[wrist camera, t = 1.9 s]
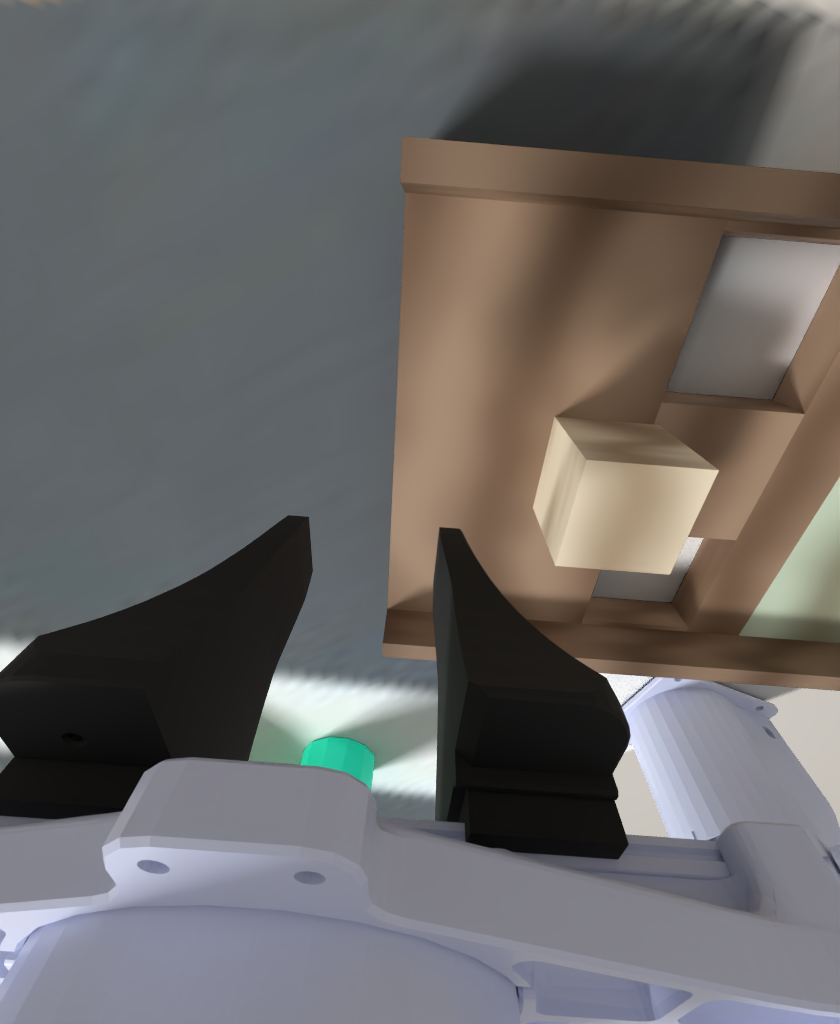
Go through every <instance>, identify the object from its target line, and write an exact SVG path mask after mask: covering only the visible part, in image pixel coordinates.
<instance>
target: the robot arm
mask: <svg viewBox="0 0 840 1024" xmlns="http://www.w3.org/2000/svg"><path fill="white" fill-rule="evenodd" d="M312 572H313V568H312V554H311V541H310V527H309V517H303V516H290V515H288V516H287V517H285V518H284V519H283V520H281V521H280V522H278V523H277V524H276V525H274V526H273V527H272V528H270V529H269V530H268V531H266V532H265V533H264V534H262V535H261V536H260V537H258V538H257V539H256V540H254V541H253V542H251V543H250V544H249V545H247V546H246V547H244V548H243V549H242V550H240V551H238V552H237V553H235V554H234V555H232V556H231V557H229V558H228V559H226V560H225V561H223V562H222V563H220V564H218V565H217V566H215V567H214V568H212V569H210V570H208V571H207V572H205V573H203V574H201V575H200V576H198V577H196V578H194V579H192V580H190V581H188V582H186V583H184V584H182V585H180V586H178V587H176V588H174V589H172V590H169V591H167V592H165V593H163V594H160V595H158V596H156V597H154V598H151V599H149V600H147V601H145V602H142V603H140V604H137V605H134V606H132V607H129V608H127V609H124V610H121V611H118V612H116V613H113V614H110V615H107V616H104V617H101V618H98V619H95V620H92V621H89V622H86V623H82V624H79V625H75V626H72V627H69V628H65V629H62V630H58V631H55V632H51V633H48V634H44V635H40V636H38V637H37V638H36V639H35V640H34V641H33V642H31V643H30V644H29V645H28V646H27V647H26V648H25V649H24V650H23V651H22V652H21V653H20V654H19V655H18V656H17V657H16V658H15V659H14V660H13V661H12V662H11V663H10V664H8V665H7V666H6V667H5V668H4V669H3V670H2V671H1V672H0V737H1V739H2V740H3V741H4V743H5V744H6V745H7V747H8V748H9V749H10V751H11V752H12V754H13V755H14V756H15V757H14V758H13V759H12V760H11V762H10V763H9V764H8V765H7V766H6V767H5V769H4V770H3V771H2V772H1V773H0V1024H840V828H839V824H838V821H837V818H836V816H835V813H834V811H833V809H832V807H831V806H830V804H829V802H828V801H827V800H826V798H825V797H824V795H823V794H822V793H821V791H820V790H819V788H818V787H817V786H816V784H815V783H814V781H813V780H812V778H811V777H810V776H809V774H808V773H807V772H806V770H805V769H804V767H803V766H802V765H801V763H800V762H799V761H798V759H797V758H796V756H795V755H794V753H793V752H792V751H791V749H790V748H789V746H788V745H787V744H786V742H785V741H784V740H783V738H782V737H781V735H780V734H779V733H778V731H777V730H776V728H775V727H774V726H773V724H772V723H771V721H770V720H769V719H770V718H771V717H772V716H774V715H775V714H776V713H777V712H778V709H777V708H776V706H775V705H774V704H771V703H769V702H766V701H763V700H761V699H758V698H755V697H752V696H750V695H747V694H744V693H742V692H739V691H736V690H734V689H731V688H728V687H726V686H723V685H720V684H718V683H715V682H712V681H703V680H690V679H676V678H663V677H655V678H654V679H653V680H652V681H651V682H650V683H649V684H647V685H646V686H645V687H644V688H643V689H642V690H641V691H639V692H638V693H637V694H636V695H635V696H634V697H633V698H632V699H630V700H629V701H628V702H627V703H626V704H625V705H624V706H623V707H621V705H620V703H619V701H618V699H617V697H616V695H615V693H614V691H613V690H612V688H611V686H610V684H609V682H608V680H607V678H605V677H604V676H602V675H601V674H599V673H598V672H596V671H594V670H593V669H591V668H590V667H588V666H586V665H585V664H583V663H582V662H580V661H579V660H577V659H575V658H574V657H572V656H571V655H570V654H568V653H567V652H565V651H564V650H563V649H561V648H560V647H559V646H557V645H556V644H555V643H553V642H552V641H551V640H549V639H548V638H547V637H546V636H545V635H543V634H542V633H541V632H540V631H539V630H537V629H536V628H535V627H534V626H533V625H532V624H531V623H530V622H528V621H527V620H526V619H525V618H524V617H523V616H522V615H521V614H520V613H519V612H518V611H517V610H516V609H515V608H514V607H513V606H512V605H511V604H510V602H509V601H508V600H507V599H506V598H505V597H504V595H503V594H502V593H501V592H500V591H499V589H498V588H497V587H496V585H495V584H494V583H493V582H492V580H491V579H490V577H489V576H488V575H487V573H486V572H485V570H484V569H483V567H482V566H481V564H480V563H479V561H478V559H477V558H476V556H475V555H474V553H473V551H472V549H471V548H470V546H469V544H468V542H467V540H466V538H465V536H464V534H463V532H462V531H461V530H460V529H458V528H445V527H439V535H438V544H437V553H436V562H435V571H434V580H433V607H432V610H433V623H434V635H435V647H436V659H437V671H438V733H437V775H436V810H435V821H430V820H416V819H402V818H388V817H376V806H377V803H376V801H375V799H374V797H373V795H372V793H371V791H370V789H369V787H368V786H367V785H366V784H365V783H363V782H362V781H360V780H359V779H357V778H355V777H354V776H352V775H350V774H349V773H347V772H344V771H339V770H334V769H330V768H325V767H321V766H308V765H294V764H280V763H266V762H252V761H248V759H249V755H250V752H251V748H252V744H253V741H254V737H255V734H256V730H257V727H258V723H259V720H260V716H261V713H262V709H263V706H264V703H265V700H266V696H267V693H268V690H269V687H270V684H271V680H272V677H273V674H274V672H275V669H276V666H277V664H278V661H279V659H280V656H281V654H282V652H283V649H284V647H285V645H286V643H287V640H288V638H289V636H290V633H291V631H292V629H293V626H294V624H295V622H296V619H297V617H298V615H299V612H300V610H301V608H302V605H303V603H304V600H305V597H306V594H307V590H308V587H309V583H310V579H311V576H312ZM628 744H629V745H633V748H634V750H635V753H636V755H637V758H638V760H639V763H640V765H641V768H642V770H643V773H644V775H645V778H646V780H647V783H648V785H649V788H650V790H651V793H652V795H653V798H654V800H655V803H656V805H657V808H658V810H659V813H660V815H661V818H662V820H663V823H664V825H665V828H666V830H667V833H668V835H669V838H667V837H653V836H639V835H626V834H625V831H624V828H623V825H622V822H621V819H620V816H619V813H618V810H617V807H616V804H615V800H616V799H617V798H618V789H617V786H616V783H615V780H614V778H613V772H614V770H615V768H616V766H617V765H618V763H619V761H620V759H621V757H622V756H623V754H624V752H625V750H626V748H627V747H628Z"/></svg>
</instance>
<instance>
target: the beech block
mask: <svg viewBox="0 0 840 1024" xmlns="http://www.w3.org/2000/svg"><path fill="white" fill-rule="evenodd" d="M718 472H719V470H718V469H717V468H715V467H714V466H713V465H711V464H710V463H709V462H708V461H706V460H705V459H704V458H702V457H701V456H700V455H698V454H697V453H696V452H694V451H693V450H692V449H690V448H689V447H688V446H686V445H685V444H684V443H683V442H681V441H680V440H679V439H677V438H676V437H675V436H673V435H672V434H671V433H669V432H668V431H667V430H665V429H664V428H663V427H662V426H660V425H653V424H640V423H628V422H615V421H603V420H590V419H578V418H565V417H554V421H553V426H552V430H551V434H550V438H549V442H548V446H547V451H546V455H545V459H544V463H543V467H542V472H541V476H540V480H539V484H538V488H537V493H536V497H535V501H534V505H533V509H534V512H535V515H536V517H537V520H538V522H539V525H540V528H541V530H542V533H543V535H544V538H545V541H546V543H547V546H548V548H549V551H550V554H551V556H552V559H553V562H554V564H555V566H563V567H576V568H589V569H602V570H615V571H628V572H641V573H654V574H667V575H670V573H671V571H672V569H673V567H674V565H675V563H676V561H677V558H678V556H679V554H680V552H681V550H682V548H683V546H684V544H685V541H686V539H687V537H688V535H689V533H690V531H691V529H692V527H693V525H694V522H695V520H696V518H697V516H698V514H699V512H700V510H701V508H702V506H703V503H704V501H705V499H706V497H707V495H708V493H709V491H710V489H711V487H712V484H713V482H714V480H715V478H716V476H717V474H718Z"/></svg>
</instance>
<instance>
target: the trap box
mask: <svg viewBox="0 0 840 1024" xmlns="http://www.w3.org/2000/svg"><path fill="white" fill-rule="evenodd" d="M400 182H401V184H402V186H403V188H404V190H405V192H406V195H405V218H404V241H403V264H402V287H401V310H400V333H399V356H398V379H397V402H396V425H395V448H394V471H393V494H392V517H391V540H390V563H389V586H388V609H387V616H386V623H385V631H384V638H383V651H382V657H395V658H409V659H422V660H436V661H437V659H436V647H435V635H434V623H433V610H432V607H433V580H434V571H435V562H436V553H437V544H438V535H439V527H445V528H458V529H460V530H461V531H462V532H463V534H464V536H465V538H466V540H467V542H468V544H469V546H470V548H471V549H472V551H473V553H474V555H475V556H476V558H477V559H478V561H479V563H480V564H481V566H482V567H483V569H484V570H485V572H486V573H487V575H488V576H489V577H490V579H491V580H492V582H493V583H494V584H495V585H496V587H497V588H498V589H499V591H500V592H501V593H502V594H503V595H504V597H505V598H506V599H507V600H508V601H509V602H510V604H511V605H512V606H513V607H514V608H515V609H516V610H517V611H518V612H519V613H520V614H521V615H522V616H523V617H524V618H525V619H526V620H527V621H528V622H530V623H531V624H532V625H533V626H534V627H535V628H536V629H537V630H539V631H540V632H541V633H542V634H543V635H545V636H546V637H547V638H548V639H549V640H551V641H552V642H553V643H555V644H556V645H557V646H559V647H560V648H561V649H563V650H564V651H565V652H567V653H568V654H570V655H571V656H572V657H574V658H575V659H577V660H579V661H580V662H582V663H583V664H585V665H586V666H588V667H590V668H591V669H593V670H594V671H596V672H598V673H609V674H623V675H636V676H649V677H663V678H676V679H690V680H703V681H716V682H730V683H743V684H756V685H770V686H783V687H796V688H810V689H823V690H837V691H840V266H839V268H838V270H837V272H836V274H835V276H834V278H833V280H832V282H831V284H830V286H829V288H828V290H827V292H826V294H825V296H824V298H823V300H822V302H821V304H820V306H819V308H818V310H817V312H816V314H815V316H814V318H813V320H812V322H811V324H810V326H809V328H808V330H807V332H806V334H805V336H804V338H803V340H802V342H801V344H800V346H799V348H798V350H797V352H796V354H795V356H794V358H793V360H792V362H791V364H790V366H789V368H788V370H787V372H786V374H785V376H784V378H783V380H782V382H781V384H780V386H779V388H778V390H777V392H776V394H775V396H774V398H773V400H764V399H751V398H739V397H727V396H714V395H702V394H689V393H677V392H666V390H667V387H668V384H669V381H670V379H671V376H672V373H673V371H674V368H675V365H676V362H677V360H678V357H679V354H680V351H681V349H682V346H683V343H684V340H685V338H686V335H687V332H688V329H689V327H690V324H691V321H692V318H693V316H694V313H695V310H696V307H697V305H698V302H699V299H700V296H701V294H702V291H703V288H704V286H705V283H706V280H707V277H708V275H709V272H710V269H711V266H712V264H713V261H714V258H715V255H716V253H717V250H718V247H719V244H720V242H721V239H722V236H723V235H725V236H737V237H749V238H761V239H773V240H785V241H797V242H809V243H821V244H833V245H840V174H836V173H824V172H812V171H800V170H789V169H777V168H765V167H753V166H742V165H730V164H718V163H707V162H695V161H683V160H671V159H660V158H648V157H636V156H624V155H613V154H601V153H589V152H577V151H566V150H554V149H542V148H531V147H519V146H507V145H495V144H484V143H472V142H460V141H448V140H437V139H425V138H413V137H402V150H401V176H400ZM554 417H565V418H578V419H590V420H603V421H615V422H628V423H640V424H653V425H660V426H662V427H663V428H664V429H665V430H667V431H668V432H669V433H671V434H672V435H673V436H675V437H676V438H677V439H679V440H680V441H681V442H683V443H684V444H685V445H686V446H688V447H689V448H690V449H692V450H693V451H694V452H696V453H697V454H698V455H700V456H701V457H702V458H704V459H705V460H706V461H708V462H709V463H710V464H711V465H713V466H714V467H715V468H717V469H718V470H719V472H718V474H717V476H716V478H715V480H714V482H713V484H712V487H711V489H710V491H709V493H708V495H707V497H706V499H705V501H704V503H703V506H702V508H701V510H700V512H699V514H698V516H697V518H696V520H695V522H694V525H693V527H692V529H691V531H690V533H689V535H688V537H698V538H704V539H703V541H702V543H701V545H700V547H699V549H698V551H697V553H696V555H695V557H694V559H693V561H692V563H691V565H690V567H689V569H688V571H687V573H686V575H685V577H684V579H683V581H682V583H681V585H680V587H679V589H678V591H677V593H676V595H675V597H674V599H673V601H672V603H663V602H650V601H637V600H624V599H610V598H597V597H591V595H592V593H593V590H594V587H595V584H596V582H597V579H598V576H599V573H600V571H601V569H589V568H576V567H563V566H555V564H554V562H553V559H552V556H551V554H550V551H549V548H548V546H547V543H546V541H545V538H544V535H543V533H542V530H541V528H540V525H539V522H538V520H537V517H536V515H535V512H534V509H533V505H534V501H535V497H536V493H537V488H538V484H539V480H540V476H541V472H542V467H543V463H544V459H545V455H546V451H547V446H548V442H549V438H550V434H551V430H552V426H553V421H554Z"/></svg>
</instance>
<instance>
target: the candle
mask: <svg viewBox="0 0 840 1024" xmlns="http://www.w3.org/2000/svg"><path fill="white" fill-rule="evenodd" d="M300 765H308V766H321V767H325V768H330V769H334V770H339V771H344V772H347V773H349V774H350V775H352V776H354V777H355V778H357V779H359V780H360V781H362V782H363V783H365V784H366V785H367V786H368V787H369V789H370V791H371V787H372V778H373V770H374V754H373V753H372V752H371V751H370V750H369V749H368V748H367V747H366V746H365V745H363V744H361V743H358V742H356V741H353V740H351V739H348V738H336V737H327V738H323V739H320V740H316V741H312V742H311V743H310V745H309V746H308V747H307V748H306V749H305V750H304V752H303V756H302V759H301V763H300Z"/></svg>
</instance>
